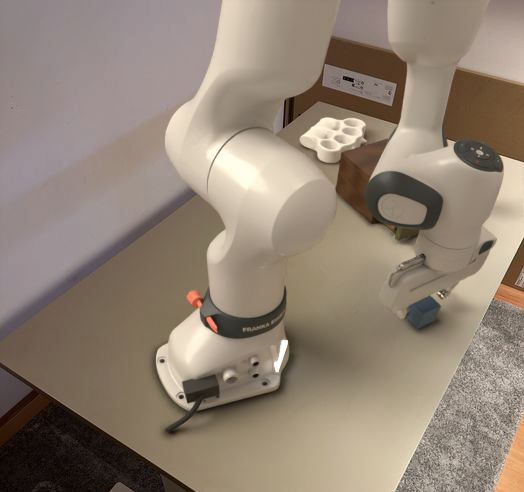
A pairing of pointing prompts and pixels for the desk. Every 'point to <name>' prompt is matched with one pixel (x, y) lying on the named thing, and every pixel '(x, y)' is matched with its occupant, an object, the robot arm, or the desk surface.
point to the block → (423, 311)
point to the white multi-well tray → (334, 137)
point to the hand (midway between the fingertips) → (422, 305)
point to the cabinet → (358, 175)
